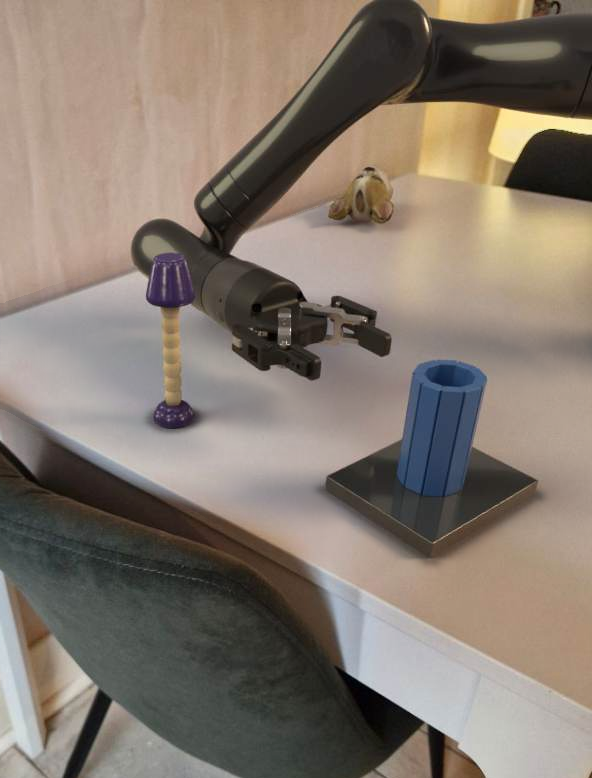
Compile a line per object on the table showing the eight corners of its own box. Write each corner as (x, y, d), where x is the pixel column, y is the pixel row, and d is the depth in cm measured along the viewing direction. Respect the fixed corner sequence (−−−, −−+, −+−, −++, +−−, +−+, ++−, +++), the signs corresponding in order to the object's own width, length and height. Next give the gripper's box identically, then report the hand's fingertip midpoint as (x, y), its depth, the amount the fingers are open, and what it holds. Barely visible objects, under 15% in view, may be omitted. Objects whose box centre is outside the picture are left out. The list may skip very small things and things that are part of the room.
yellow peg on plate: (428, 438, 75) (442, 358, 70) (534, 494, 67) (560, 408, 62) (324, 489, 68) (332, 405, 63) (429, 558, 61) (448, 468, 56)
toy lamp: (157, 404, 81) (147, 247, 71) (200, 406, 81) (196, 248, 71) (150, 428, 78) (138, 265, 67) (196, 429, 77) (190, 266, 67)
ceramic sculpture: (408, 156, 131) (392, 184, 120) (402, 208, 136) (386, 238, 126) (347, 153, 134) (326, 179, 123) (344, 203, 139) (323, 233, 129)
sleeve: (395, 458, 70) (411, 357, 64) (460, 462, 69) (482, 361, 63) (397, 493, 65) (414, 389, 59) (467, 499, 64) (491, 394, 58)
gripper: (194, 282, 76) (295, 339, 65) (306, 254, 82) (416, 302, 71) (196, 352, 80) (291, 416, 69) (302, 320, 86) (404, 374, 75)
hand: (354, 358), depth 70 cm, fingers open, 8 cm apart
